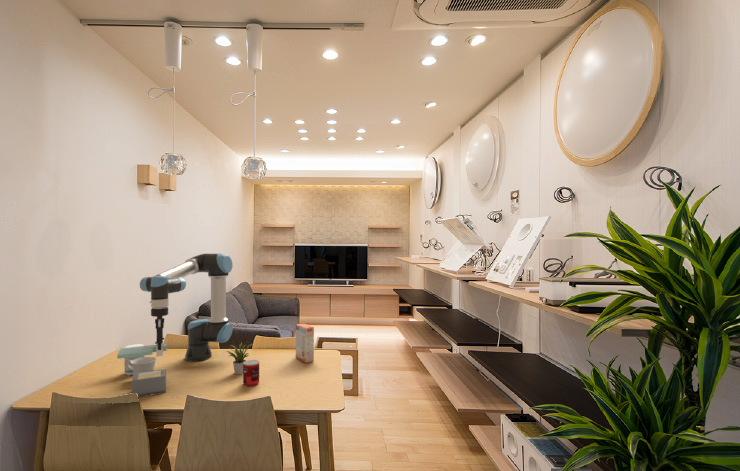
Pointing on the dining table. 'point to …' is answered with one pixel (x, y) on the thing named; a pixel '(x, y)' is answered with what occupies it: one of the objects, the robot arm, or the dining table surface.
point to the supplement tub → (127, 370)
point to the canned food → (251, 372)
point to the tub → (149, 382)
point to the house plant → (239, 358)
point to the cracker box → (305, 342)
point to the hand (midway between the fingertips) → (159, 354)
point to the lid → (138, 351)
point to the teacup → (142, 364)
